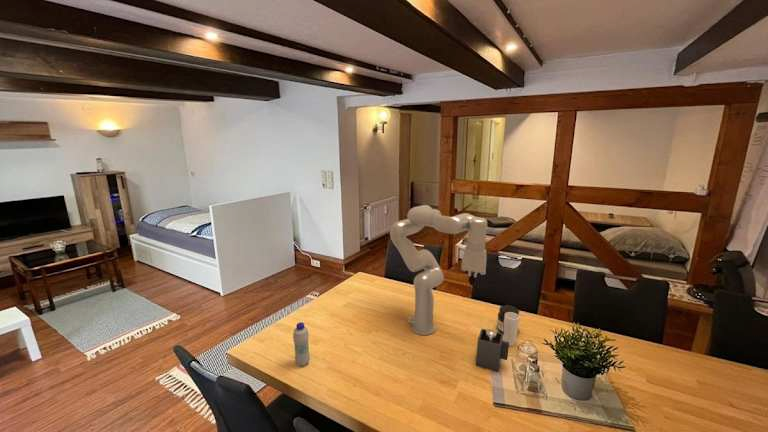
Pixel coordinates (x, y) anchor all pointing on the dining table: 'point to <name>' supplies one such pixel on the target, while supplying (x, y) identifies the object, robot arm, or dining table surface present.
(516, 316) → the drinking glass
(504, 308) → the supplement container
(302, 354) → the bottle
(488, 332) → the plunger
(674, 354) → the dining table surface
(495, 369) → the block
